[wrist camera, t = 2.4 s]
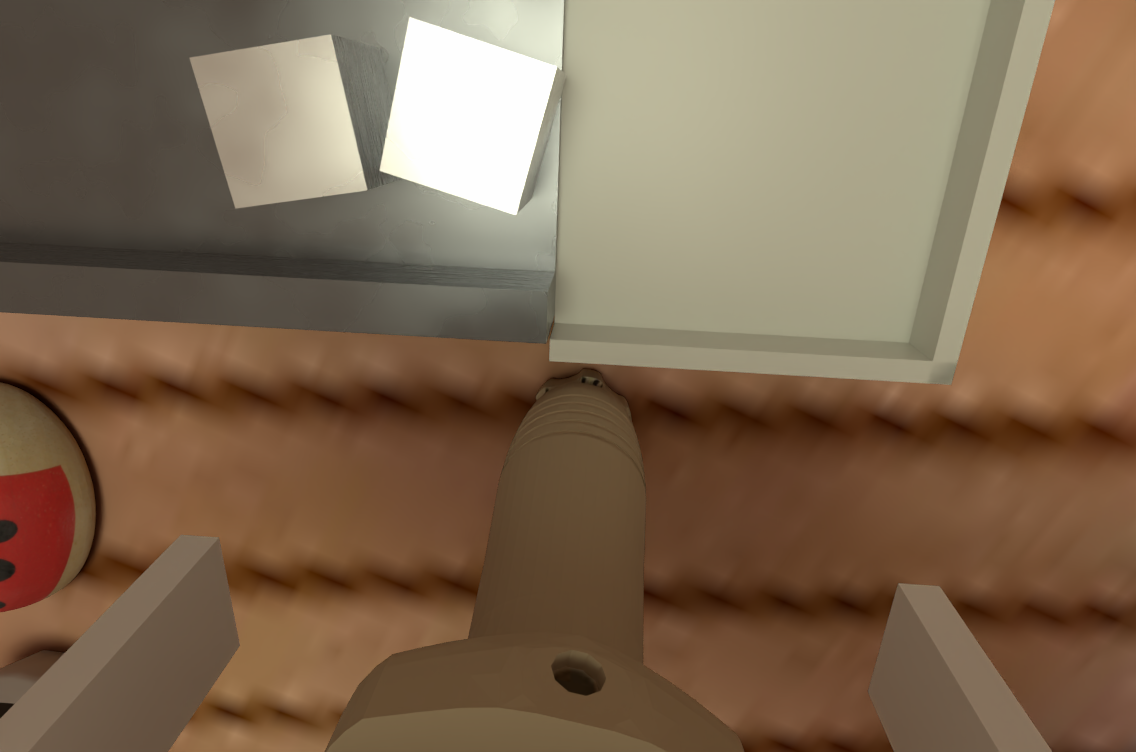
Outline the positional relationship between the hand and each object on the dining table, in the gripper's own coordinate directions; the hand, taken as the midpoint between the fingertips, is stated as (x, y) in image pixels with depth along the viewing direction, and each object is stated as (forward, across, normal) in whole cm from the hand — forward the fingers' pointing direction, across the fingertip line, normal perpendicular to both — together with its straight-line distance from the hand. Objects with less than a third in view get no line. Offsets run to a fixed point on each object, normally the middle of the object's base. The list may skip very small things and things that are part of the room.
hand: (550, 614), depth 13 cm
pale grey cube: (+10, +3, -9) cm, 14 cm away
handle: (+11, 0, +1) cm, 11 cm away
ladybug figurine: (+11, +22, +6) cm, 25 cm away
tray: (+11, -5, -8) cm, 15 cm away
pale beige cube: (+10, +7, -8) cm, 15 cm away
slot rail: (+11, +11, -8) cm, 18 cm away
